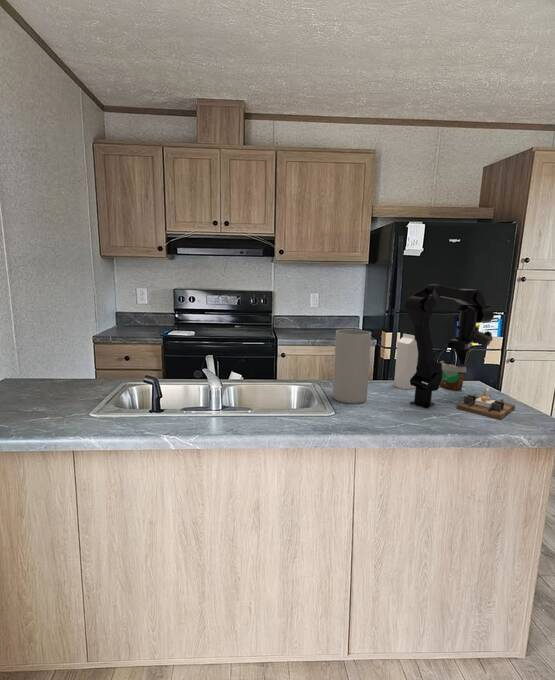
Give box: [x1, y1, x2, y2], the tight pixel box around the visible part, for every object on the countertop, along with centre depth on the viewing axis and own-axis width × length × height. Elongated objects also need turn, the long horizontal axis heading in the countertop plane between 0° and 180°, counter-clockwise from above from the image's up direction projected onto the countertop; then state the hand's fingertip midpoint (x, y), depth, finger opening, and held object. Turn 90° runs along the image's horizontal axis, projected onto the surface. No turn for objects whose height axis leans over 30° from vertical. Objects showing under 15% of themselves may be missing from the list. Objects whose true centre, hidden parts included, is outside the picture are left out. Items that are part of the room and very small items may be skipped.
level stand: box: [456, 394, 516, 420], centre depth 139 cm, size 16×14×4 cm
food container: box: [439, 360, 467, 391], centre depth 163 cm, size 12×6×10 cm, turn 25°
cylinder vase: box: [332, 328, 372, 405], centre depth 144 cm, size 12×12×25 cm
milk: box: [393, 333, 419, 390], centre depth 161 cm, size 6×6×22 cm
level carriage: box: [475, 387, 496, 408], centre depth 137 cm, size 5×5×6 cm
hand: (463, 364), depth 148 cm, fingers closed
